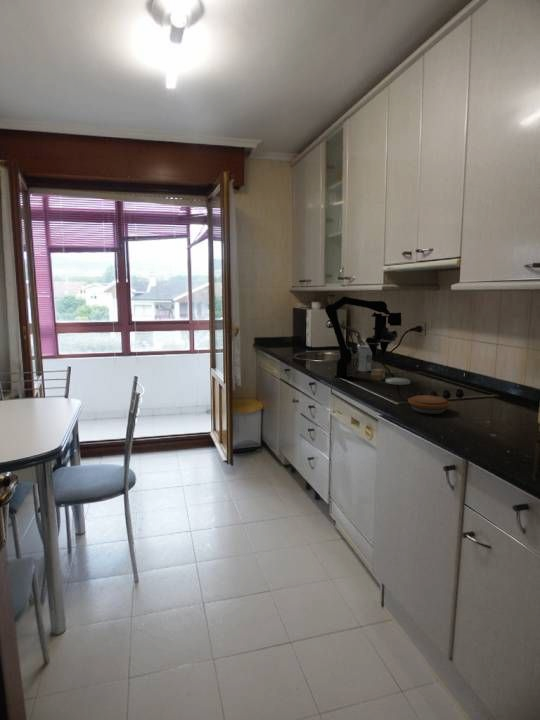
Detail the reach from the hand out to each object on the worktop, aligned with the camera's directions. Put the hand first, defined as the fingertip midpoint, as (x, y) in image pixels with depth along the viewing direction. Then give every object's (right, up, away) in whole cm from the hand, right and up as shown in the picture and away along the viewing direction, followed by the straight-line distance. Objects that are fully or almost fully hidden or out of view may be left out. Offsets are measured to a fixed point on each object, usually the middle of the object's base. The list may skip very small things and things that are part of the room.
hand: (379, 355), depth 232 cm
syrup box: (-2, -9, +24) cm, 26 cm away
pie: (+4, -22, -60) cm, 64 cm away
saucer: (+7, -13, -8) cm, 17 cm away
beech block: (0, -12, +1) cm, 12 cm away
